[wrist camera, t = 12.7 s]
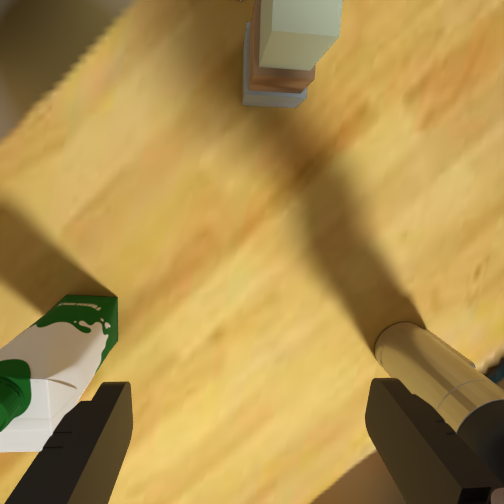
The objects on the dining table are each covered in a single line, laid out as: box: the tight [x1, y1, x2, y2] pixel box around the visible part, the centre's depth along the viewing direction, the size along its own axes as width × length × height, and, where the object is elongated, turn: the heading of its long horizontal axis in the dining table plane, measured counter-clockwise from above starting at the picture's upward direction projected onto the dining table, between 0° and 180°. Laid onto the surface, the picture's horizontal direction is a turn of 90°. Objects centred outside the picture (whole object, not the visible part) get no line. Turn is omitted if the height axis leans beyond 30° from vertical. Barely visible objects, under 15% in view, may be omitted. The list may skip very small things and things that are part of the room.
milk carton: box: [0, 295, 118, 452], centre depth 32 cm, size 9×9×20 cm
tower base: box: [243, 22, 307, 108], centre depth 34 cm, size 7×7×5 cm
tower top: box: [248, 0, 315, 94], centre depth 29 cm, size 6×6×5 cm
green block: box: [259, 0, 343, 71], centre depth 23 cm, size 5×5×7 cm
